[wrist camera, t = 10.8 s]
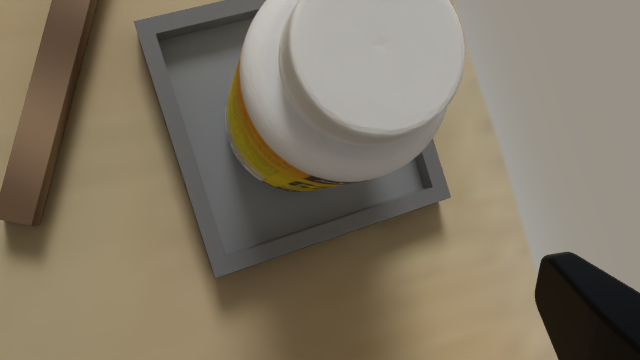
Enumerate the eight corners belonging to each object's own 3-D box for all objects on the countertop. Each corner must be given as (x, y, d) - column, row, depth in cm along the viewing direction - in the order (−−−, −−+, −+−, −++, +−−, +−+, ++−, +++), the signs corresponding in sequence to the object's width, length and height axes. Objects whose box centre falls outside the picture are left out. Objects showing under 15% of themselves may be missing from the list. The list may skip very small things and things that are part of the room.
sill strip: (39, 225, 20) (31, 225, 19) (3, 218, 20) (-7, 218, 19) (120, -87, 21) (116, -101, 20) (87, -97, 21) (81, -112, 20)
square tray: (438, 197, 23) (450, 197, 22) (214, 274, 21) (215, 278, 20) (369, -23, 23) (378, -36, 22) (137, 32, 21) (133, 21, 20)
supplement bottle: (260, 216, 21) (317, 220, 11) (200, 83, 21) (202, -35, 11) (386, 158, 22) (538, 115, 12) (330, 32, 22) (439, -116, 12)
